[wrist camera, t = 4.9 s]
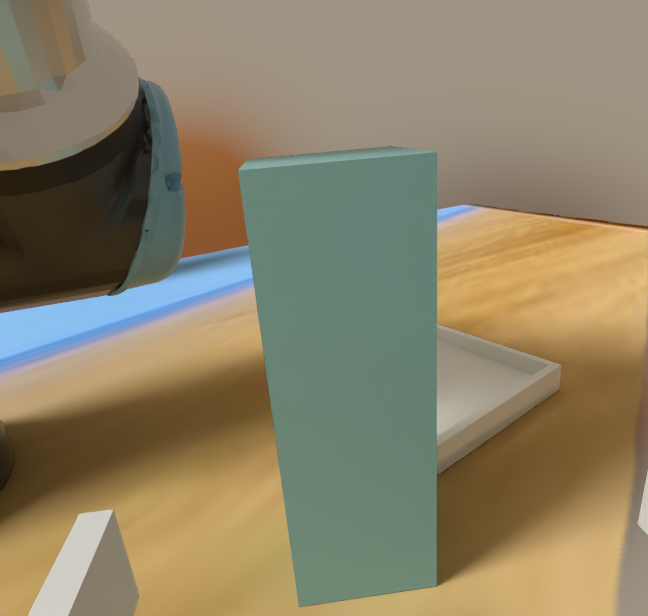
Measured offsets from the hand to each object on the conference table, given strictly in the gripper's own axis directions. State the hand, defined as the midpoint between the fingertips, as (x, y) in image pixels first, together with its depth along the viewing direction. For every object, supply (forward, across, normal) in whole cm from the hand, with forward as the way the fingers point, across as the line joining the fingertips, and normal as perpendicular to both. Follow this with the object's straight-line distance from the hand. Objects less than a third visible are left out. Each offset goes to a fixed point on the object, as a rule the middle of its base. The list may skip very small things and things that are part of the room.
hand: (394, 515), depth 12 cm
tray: (+22, +7, -10) cm, 25 cm away
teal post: (+9, 0, -10) cm, 13 cm away
